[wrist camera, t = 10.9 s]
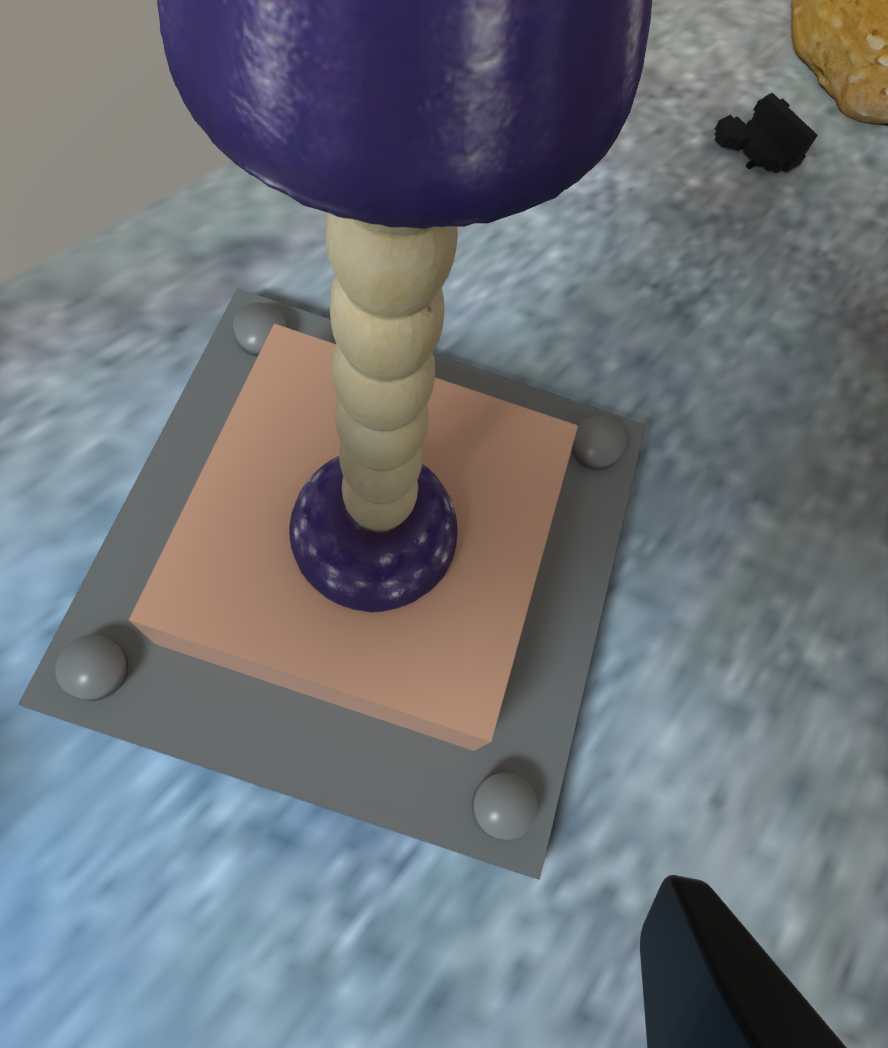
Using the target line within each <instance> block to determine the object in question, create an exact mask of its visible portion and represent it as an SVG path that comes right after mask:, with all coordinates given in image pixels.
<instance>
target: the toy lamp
mask: <svg viewBox="0 0 888 1048" xmlns="http://www.w3.org/2000/svg"><path fill="white" fill-rule="evenodd" d="M157 4H158V12H159V18H160V31H161V35H162V39H163V44H164V50H165V54H166V58H167V62H168V65H169V69H170V73H171V75H172V78H173V81H174V83H175V86H176V87H177V88H178V90H179V93H180V95H181V97H182V100H183V102H184V104H185V105H186V107H187V108H188V110H189V112H190V113H191V115H192V117H193V118H194V120H195V121H196V122H197V124H198V125H199V126H200V127H201V128H202V129H203V130H204V131H205V133H206V134H207V135H208V136H209V138H210V139H211V141H212V142H213V143H214V144H215V145H216V146H217V147H218V148H219V149H220V150H221V151H222V152H223V153H224V154H225V155H226V156H227V157H228V158H230V159H231V160H232V161H233V162H234V163H235V164H236V165H238V166H239V167H241V168H242V169H243V170H245V171H246V172H247V173H249V174H250V175H252V176H254V177H256V178H258V179H259V180H260V181H262V182H263V183H264V184H266V185H267V186H268V187H270V188H273V189H276V190H278V191H280V192H282V193H284V194H286V195H288V196H290V197H291V198H293V199H294V200H296V201H297V202H299V203H300V204H302V205H304V206H307V207H311V208H314V209H318V210H321V211H324V212H327V215H326V243H327V251H328V257H329V261H330V264H331V267H332V270H333V272H334V274H335V279H334V281H333V284H332V289H331V294H330V319H331V327H332V332H333V336H334V339H335V341H336V346H335V349H334V353H333V360H332V378H333V383H334V388H335V391H336V394H337V397H338V401H337V405H336V413H335V419H336V428H337V432H338V435H339V438H340V441H341V444H340V450H339V456H337V457H336V458H333V459H332V460H330V461H329V462H327V463H325V464H324V465H323V466H321V467H320V468H319V469H318V470H317V471H316V472H315V473H314V474H313V475H312V476H311V477H310V478H309V479H308V480H307V482H306V483H305V485H304V486H303V488H302V489H301V491H300V493H299V495H298V497H297V499H296V502H295V505H294V508H293V510H292V513H291V519H290V525H289V535H290V544H291V549H292V552H293V555H294V558H295V560H296V562H297V565H298V567H299V569H300V571H301V573H302V575H303V576H304V577H305V578H306V580H307V581H308V582H309V583H310V584H311V585H312V586H313V587H314V588H315V589H316V590H317V591H319V592H320V593H321V594H322V595H323V596H325V597H326V598H327V599H329V600H331V601H333V602H334V603H336V604H338V605H341V606H343V607H348V608H350V609H353V610H360V611H365V612H384V611H388V610H393V609H398V608H400V607H402V606H406V605H408V604H410V603H413V602H415V601H416V600H418V599H419V598H420V597H422V596H424V595H425V594H427V593H428V592H430V591H431V590H432V589H433V588H434V587H435V586H436V585H437V584H438V583H439V582H440V581H441V579H442V578H443V577H444V576H445V574H446V572H447V570H448V568H449V566H450V564H451V562H452V560H453V557H454V554H455V549H456V545H457V535H458V528H457V518H456V514H455V510H454V507H453V504H452V501H451V498H450V496H449V495H448V493H447V491H446V489H445V487H444V486H443V484H442V483H441V482H440V481H439V479H438V477H437V476H436V475H435V474H434V473H433V472H432V471H431V470H430V469H429V468H428V467H426V466H425V465H423V464H422V462H423V451H422V444H423V442H424V440H425V438H426V435H427V432H428V424H429V410H428V404H427V403H428V401H429V399H430V396H431V394H432V391H433V387H434V381H435V359H434V355H433V351H434V349H435V347H436V345H437V343H438V341H439V338H440V335H441V331H442V327H443V319H444V297H443V292H442V286H443V284H444V282H445V281H446V279H447V277H448V275H449V273H450V270H451V267H452V265H453V262H454V257H455V252H456V246H457V237H458V231H457V226H467V225H470V224H473V223H490V222H493V221H496V220H499V219H501V218H505V217H508V216H511V215H514V214H517V213H520V212H523V211H525V210H527V209H530V208H532V207H534V206H537V205H539V204H541V203H544V202H546V201H548V200H551V199H554V198H556V197H557V196H558V195H559V194H560V193H561V192H563V191H564V190H566V189H568V188H569V187H571V186H572V185H573V184H575V183H576V182H578V181H579V180H580V179H581V178H582V177H583V176H584V175H585V174H586V173H587V172H588V171H590V170H591V169H592V168H593V167H594V166H595V165H596V164H597V163H598V162H599V161H600V160H601V159H602V158H603V157H604V156H605V155H606V154H607V152H608V151H609V149H610V148H611V146H612V145H613V143H614V142H615V140H616V139H617V137H618V135H619V133H620V131H621V129H622V127H623V125H624V123H625V121H626V119H627V117H628V115H629V113H630V111H631V108H632V104H633V101H634V98H635V94H636V91H637V88H638V84H639V81H640V77H641V73H642V69H643V64H644V58H645V52H646V46H647V39H648V33H649V27H650V20H651V8H652V0H157Z"/></svg>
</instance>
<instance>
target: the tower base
mask: <svg viewBox="0 0 888 1048" xmlns="http://www.w3.org/2000/svg"><path fill="white" fill-rule="evenodd" d="M335 346H336V341H335V339H334V336H333V332H332V327H331V319H328V318H325V317H322V316H319V315H316V314H313V313H310V312H307V311H304V310H301V309H298V308H295V307H292V306H289V305H286V304H283V303H280V302H277V301H274V300H271V299H268V298H265V297H262V296H259V295H256V294H253V293H250V292H247V291H245V290H242V289H239V288H237V290H236V292H235V294H234V296H233V297H232V299H231V301H230V303H229V305H228V307H227V309H226V311H225V313H224V315H223V316H222V318H221V320H220V322H219V324H218V326H217V328H216V330H215V332H214V334H213V335H212V337H211V339H210V341H209V343H208V345H207V347H206V349H205V351H204V353H203V354H202V356H201V358H200V360H199V362H198V364H197V366H196V368H195V370H194V372H193V373H192V375H191V377H190V379H189V381H188V383H187V385H186V387H185V389H184V391H183V392H182V394H181V396H180V398H179V400H178V402H177V404H176V406H175V408H174V410H173V411H172V413H171V415H170V417H169V419H168V421H167V423H166V425H165V427H164V429H163V430H162V432H161V434H160V436H159V438H158V440H157V442H156V444H155V446H154V448H153V449H152V451H151V453H150V455H149V457H148V459H147V461H146V463H145V465H144V466H143V468H142V470H141V472H140V474H139V476H138V478H137V480H136V482H135V484H134V485H133V487H132V489H131V491H130V493H129V495H128V497H127V499H126V501H125V503H124V504H123V506H122V508H121V510H120V512H119V514H118V516H117V518H116V520H115V522H114V523H113V525H112V527H111V529H110V531H109V533H108V535H107V537H106V539H105V541H104V542H103V544H102V546H101V548H100V550H99V552H98V554H97V556H96V558H95V560H94V561H93V563H92V565H91V567H90V569H89V571H88V573H87V575H86V577H85V579H84V580H83V582H82V584H81V586H80V588H79V590H78V592H77V594H76V596H75V598H74V599H73V601H72V603H71V605H70V607H69V609H68V611H67V613H66V615H65V617H64V618H63V620H62V622H61V624H60V626H59V628H58V630H57V632H56V634H55V636H54V637H53V639H52V641H51V643H50V645H49V647H48V649H47V651H46V653H45V655H44V656H43V658H42V660H41V662H40V664H39V666H38V668H37V670H36V672H35V674H34V675H33V677H32V679H31V681H30V683H29V685H28V687H27V689H26V691H25V693H24V694H23V696H22V698H21V700H20V702H19V704H18V705H21V706H24V707H26V708H29V709H32V710H35V711H38V712H41V713H44V714H47V715H50V716H53V717H56V718H59V719H62V720H65V721H68V722H71V723H74V724H77V725H80V726H83V727H86V728H89V729H92V730H95V731H98V732H101V733H104V734H107V735H109V736H112V737H115V738H118V739H121V740H124V741H127V742H130V743H133V744H136V745H139V746H142V747H145V748H148V749H151V750H154V751H157V752H160V753H163V754H166V755H169V756H172V757H175V758H178V759H181V760H184V761H187V762H190V763H193V764H196V765H199V766H202V767H205V768H208V769H211V770H214V771H217V772H220V773H223V774H226V775H229V776H232V777H235V778H238V779H241V780H243V781H246V782H249V783H252V784H255V785H258V786H261V787H264V788H267V789H270V790H273V791H276V792H279V793H282V794H285V795H288V796H291V797H294V798H297V799H300V800H303V801H306V802H309V803H312V804H315V805H318V806H321V807H324V808H327V809H330V810H333V811H336V812H339V813H342V814H345V815H348V816H351V817H354V818H357V819H360V820H363V821H366V822H369V823H372V824H375V825H377V826H380V827H383V828H386V829H389V830H392V831H395V832H398V833H401V834H404V835H407V836H410V837H413V838H416V839H419V840H422V841H425V842H428V843H431V844H434V845H437V846H440V847H443V848H446V849H449V850H452V851H455V852H458V853H461V854H464V855H467V856H470V857H473V858H476V859H479V860H482V861H485V862H488V863H491V864H494V865H497V866H500V867H503V868H506V869H509V870H511V871H514V872H517V873H520V874H523V875H526V876H529V877H532V878H536V879H539V880H540V876H541V872H542V868H543V863H544V859H545V855H546V851H547V846H548V842H549V838H550V833H551V829H552V825H553V821H554V816H555V812H556V808H557V803H558V799H559V795H560V790H561V786H562V782H563V778H564V773H565V769H566V765H567V760H568V756H569V752H570V748H571V743H572V739H573V735H574V730H575V726H576V722H577V717H578V713H579V709H580V705H581V700H582V696H583V692H584V687H585V683H586V679H587V675H588V670H589V666H590V662H591V657H592V653H593V649H594V644H595V640H596V636H597V632H598V627H599V623H600V619H601V614H602V610H603V606H604V602H605V597H606V593H607V589H608V584H609V580H610V576H611V571H612V567H613V563H614V559H615V554H616V550H617V546H618V541H619V537H620V533H621V529H622V524H623V520H624V516H625V511H626V507H627V503H628V498H629V494H630V490H631V486H632V481H633V477H634V473H635V468H636V464H637V460H638V456H639V451H640V447H641V443H642V438H643V434H644V430H645V425H644V424H641V423H638V422H635V421H632V420H629V419H626V418H623V417H620V416H617V415H614V414H611V413H608V412H605V411H602V410H599V409H596V408H593V407H591V406H588V405H585V404H582V403H579V402H576V401H573V400H570V399H567V398H564V397H561V396H558V395H555V394H552V393H549V392H546V391H543V390H540V389H537V388H534V387H531V386H528V385H525V384H522V383H519V382H516V381H513V380H510V379H507V378H504V377H501V376H498V375H495V374H492V373H489V372H486V371H483V370H480V369H477V368H474V367H471V366H468V365H465V364H462V363H459V362H456V361H453V360H450V359H447V358H444V357H441V356H438V355H435V354H433V355H434V359H435V381H434V387H433V391H432V394H431V396H430V399H429V401H428V403H427V404H428V410H429V424H428V432H427V435H426V438H425V440H424V442H423V444H422V451H423V462H422V464H423V465H425V466H426V467H428V468H429V469H430V470H431V471H432V472H433V473H434V474H435V475H436V476H437V477H438V479H439V481H440V482H441V483H442V484H443V486H444V487H445V489H446V491H447V493H448V495H449V496H450V498H451V501H452V504H453V507H454V510H455V514H456V518H457V528H458V535H457V545H456V549H455V554H454V557H453V560H452V562H451V564H450V566H449V568H448V570H447V572H446V574H445V576H444V577H443V578H442V579H441V581H440V582H439V583H438V584H437V585H436V586H435V587H434V588H433V589H432V590H431V591H430V592H428V593H427V594H425V595H424V596H422V597H420V598H419V599H418V600H416V601H415V602H413V603H410V604H408V605H406V606H402V607H400V608H398V609H393V610H388V611H384V612H365V611H360V610H353V609H350V608H348V607H343V606H341V605H338V604H336V603H334V602H333V601H331V600H329V599H327V598H326V597H325V596H323V595H322V594H321V593H320V592H319V591H317V590H316V589H315V588H314V587H313V586H312V585H311V584H310V583H309V582H308V581H307V580H306V578H305V577H304V576H303V575H302V573H301V571H300V569H299V567H298V565H297V562H296V560H295V558H294V555H293V552H292V549H291V544H290V535H289V525H290V519H291V513H292V510H293V508H294V505H295V502H296V499H297V497H298V495H299V493H300V491H301V489H302V488H303V486H304V485H305V483H306V482H307V480H308V479H309V478H310V477H311V476H312V475H313V474H314V473H315V472H316V471H317V470H318V469H319V468H320V467H321V466H323V465H324V464H325V463H327V462H329V461H330V460H332V459H333V458H336V457H337V456H339V450H340V444H341V441H340V438H339V435H338V432H337V428H336V419H335V413H336V405H337V401H338V397H337V394H336V391H335V388H334V383H333V378H332V360H333V353H334V349H335Z"/></svg>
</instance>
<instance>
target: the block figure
mask: <svg viewBox="0 0 888 1048" xmlns="http://www.w3.org/2000/svg"><path fill="white" fill-rule="evenodd" d="M789 106H790V105H789V104H788V103H787V102H786V101H785V100H784V99H781V100H780V99H779V98H778V97H777V96H775V95H774V94H773V93H771V94H769V95H767V96H765V97H764V98H763V99H761V100H759V101H758V102H757V104H756V106H755V108H754V109H753V110H754V111H755V113H754V116H753V118H752V120H750V121H748V123H747V124H745V123H744V122H743V121H742V120H741V119H740V118H739V117H735V118H733V117H732V116H731V115H729V116H727V117H725V118H723V119H721V120H719V122H718V124H717V126H716V128H715V130H716V133H715V136H716V138H715V141H716V142H717V143H718V144H719V145H720V146H721V147H722V146H724V145H726V146H727V147H728V148H730V147H733V148H734V149H735V150H737V149H739V148H741V147H744V148H745V149H744V151H743V152H744V153H745V154H746V155H747V156H748V157H749V158H750V159H751V160H752V161H750V162H748V163H747V165H746V167H747V168H748V169H751V168H753V167H755V166H756V165H757V166H758V165H760V164H762V165H763V166H764V167H765V168H766V169H767V170H768V171H769V170H771V169H772V170H773V171H774V172H777V171H779V170H781V169H783V170H784V171H785V172H787V171H789V170H791V169H792V168H794V167H796V166H798V165H800V164H801V162H802V161H803V159H804V158H805V156H806V155H805V154H806V152H807V151H808V149H809V147H810V146H811V144H812V143H813V142H814V140H815V139H816V137H817V136H818V135H817V134H816V133H815V132H814V131H813V130H812V129H811V128H810V127H808V126H807V125H806V124H805V123H804V122H803V121H802V120H801V119H800V118H799V117H798V116H797V115H796V114H795V113H794V112H793V111H791V110H790V109H789V108H788V107H789Z"/></svg>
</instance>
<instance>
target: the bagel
mask: <svg viewBox="0 0 888 1048" xmlns="http://www.w3.org/2000/svg"><path fill="white" fill-rule="evenodd" d="M791 8H792V39H793V45H794V49H795V52H796V54H797V55H798V56H799V57H800V58H801V59H802V60H803V61H804V62H805V63H806V64H807V65H808V66H809V67H810V68H811V69H812V70H813V71H814V72H815V74H816V75H817V76H818V80H819V83H820V84H821V85H822V86H823V87H824V88H825V90H826V91H827V92H828V94H830V95H831V96H832V97H833V98H834V99H835V100H836V101H837V105H838V107H839V109H840V110H841V112H842V113H844V114H845V115H846V116H848V117H850V118H852V119H855V120H858V121H860V122H868V123H875V124H876V123H888V0H792V1H791Z"/></svg>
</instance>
